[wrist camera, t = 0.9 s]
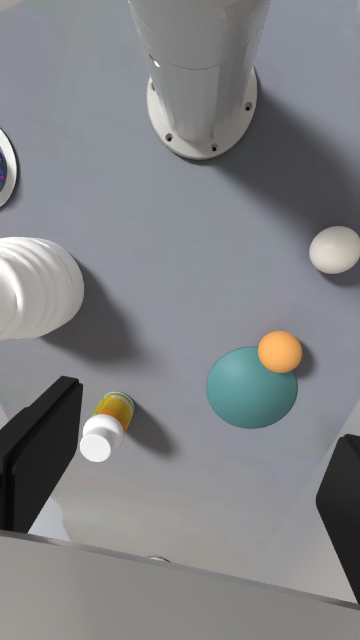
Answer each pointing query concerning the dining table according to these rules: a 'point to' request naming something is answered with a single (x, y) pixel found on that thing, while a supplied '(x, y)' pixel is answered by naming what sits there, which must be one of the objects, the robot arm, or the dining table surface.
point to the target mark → (249, 390)
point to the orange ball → (280, 351)
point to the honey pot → (36, 287)
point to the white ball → (335, 250)
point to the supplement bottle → (106, 426)
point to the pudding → (11, 169)
